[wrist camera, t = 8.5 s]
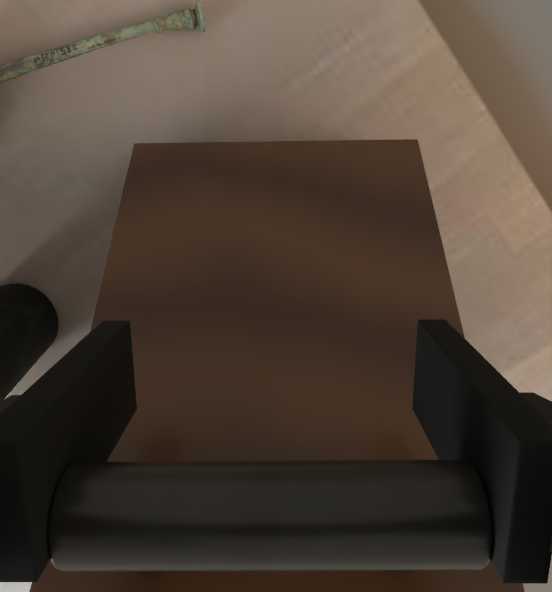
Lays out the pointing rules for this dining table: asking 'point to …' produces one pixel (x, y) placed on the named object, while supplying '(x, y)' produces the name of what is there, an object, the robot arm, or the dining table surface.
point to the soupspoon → (103, 42)
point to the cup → (23, 332)
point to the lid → (274, 383)
